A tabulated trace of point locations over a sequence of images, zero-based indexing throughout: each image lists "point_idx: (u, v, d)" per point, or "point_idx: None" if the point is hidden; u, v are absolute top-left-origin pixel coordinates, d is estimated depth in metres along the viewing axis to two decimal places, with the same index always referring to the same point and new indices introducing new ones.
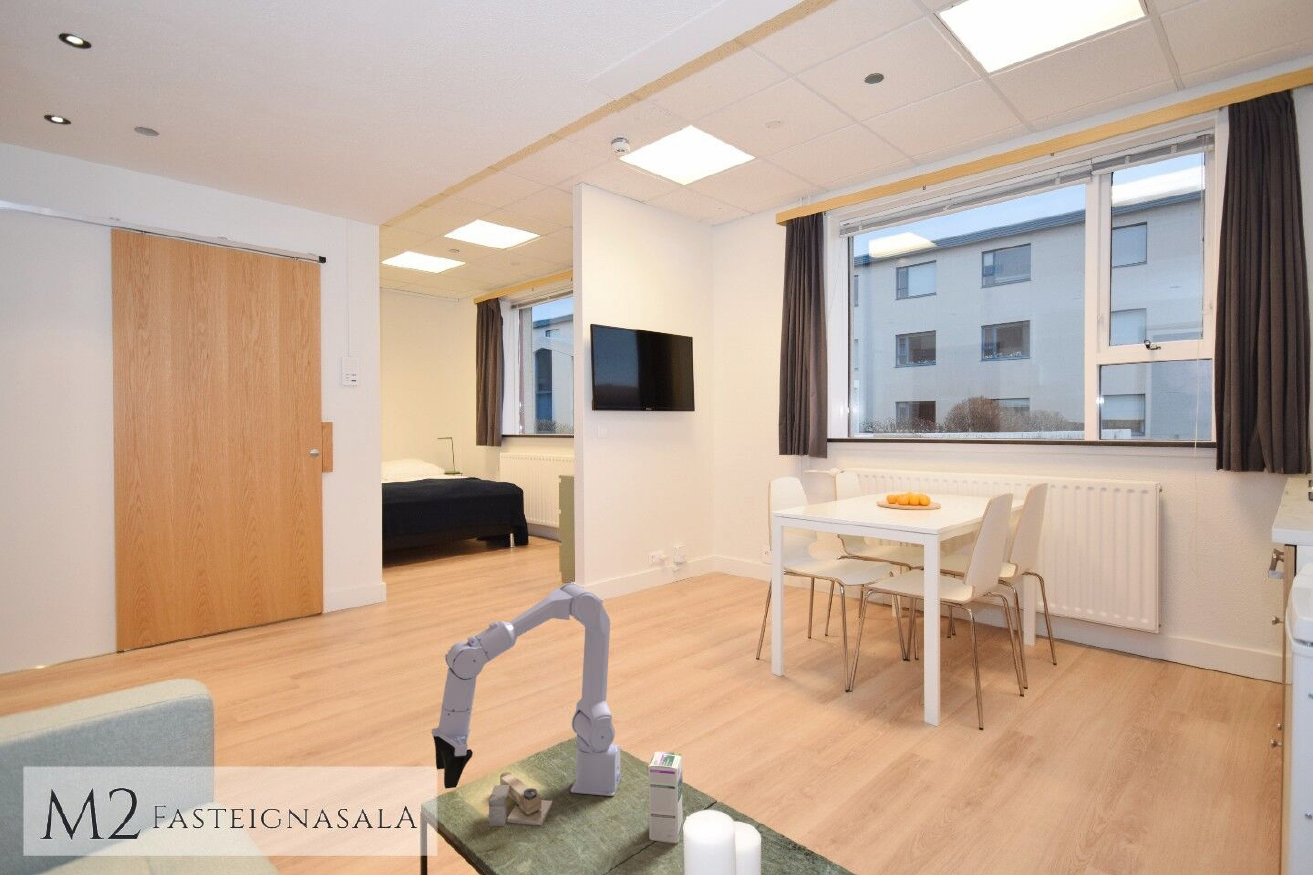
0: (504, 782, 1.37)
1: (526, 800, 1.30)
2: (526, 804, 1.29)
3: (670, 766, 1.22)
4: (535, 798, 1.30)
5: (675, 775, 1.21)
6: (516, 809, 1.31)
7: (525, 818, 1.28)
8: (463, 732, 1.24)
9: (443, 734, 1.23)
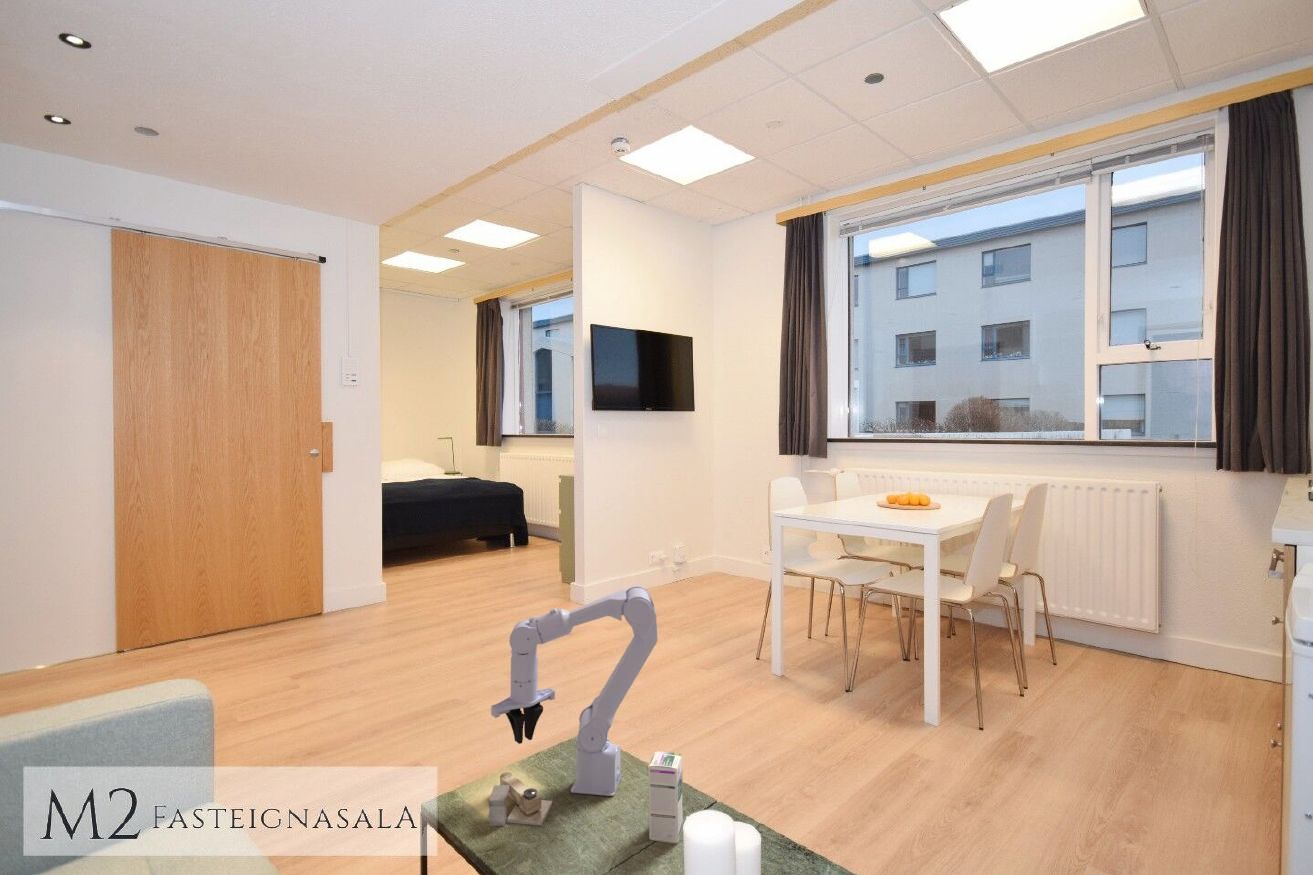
0: (504, 782, 1.37)
1: (526, 800, 1.30)
2: (526, 804, 1.29)
3: (670, 766, 1.22)
4: (535, 798, 1.30)
5: (675, 775, 1.21)
6: (516, 809, 1.31)
7: (525, 818, 1.28)
8: (516, 701, 1.37)
9: None
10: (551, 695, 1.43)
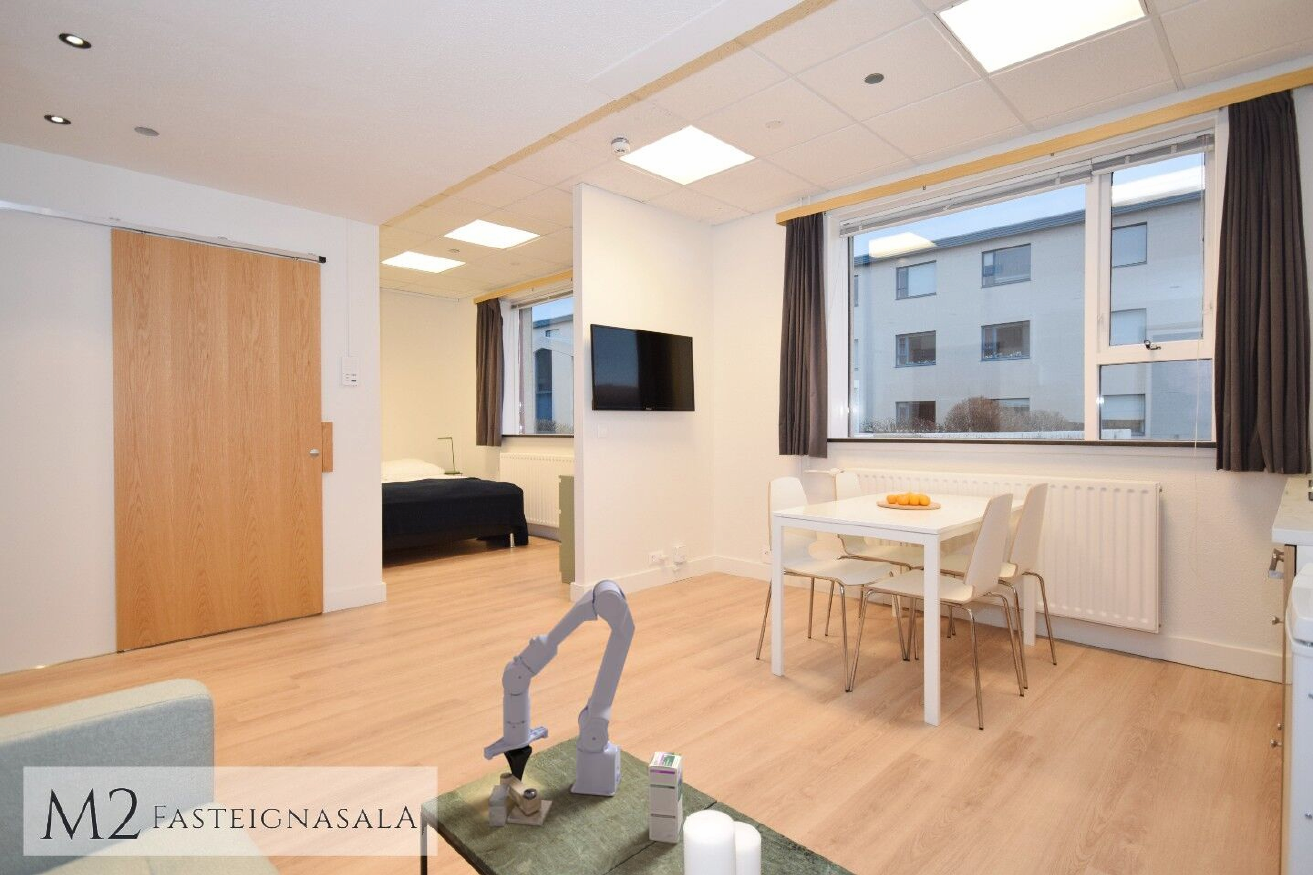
0: (504, 782, 1.37)
1: (526, 800, 1.30)
2: (526, 804, 1.29)
3: (670, 766, 1.22)
4: (535, 798, 1.30)
5: (675, 775, 1.21)
6: (516, 809, 1.31)
7: (525, 818, 1.28)
8: (509, 742, 1.36)
9: (503, 737, 1.39)
10: (544, 733, 1.43)
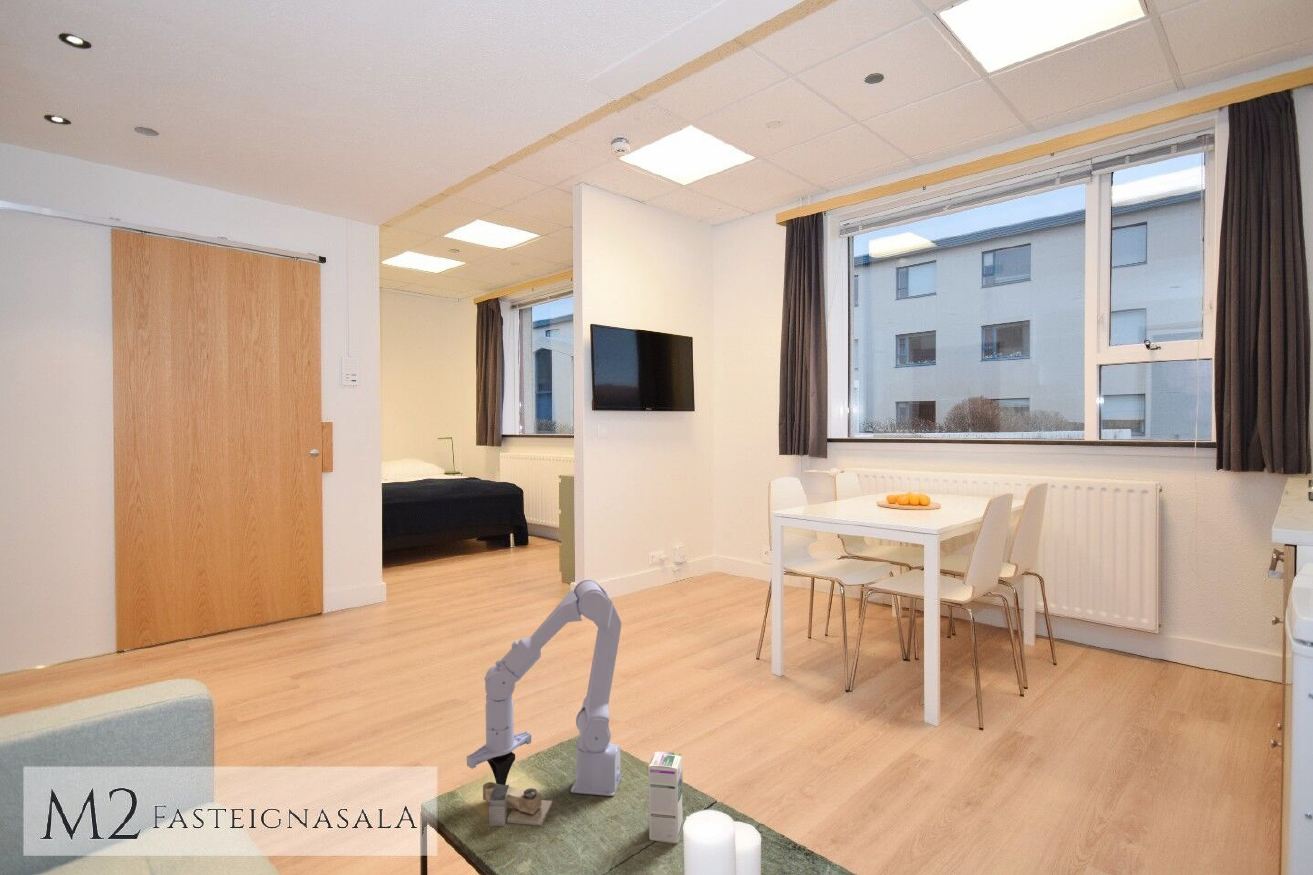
0: (491, 792, 1.33)
1: (530, 800, 1.29)
2: (531, 804, 1.29)
3: (670, 766, 1.22)
4: (537, 796, 1.31)
5: (675, 775, 1.21)
6: (516, 809, 1.31)
7: (525, 818, 1.28)
8: (492, 749, 1.34)
9: (485, 744, 1.36)
10: (527, 739, 1.40)
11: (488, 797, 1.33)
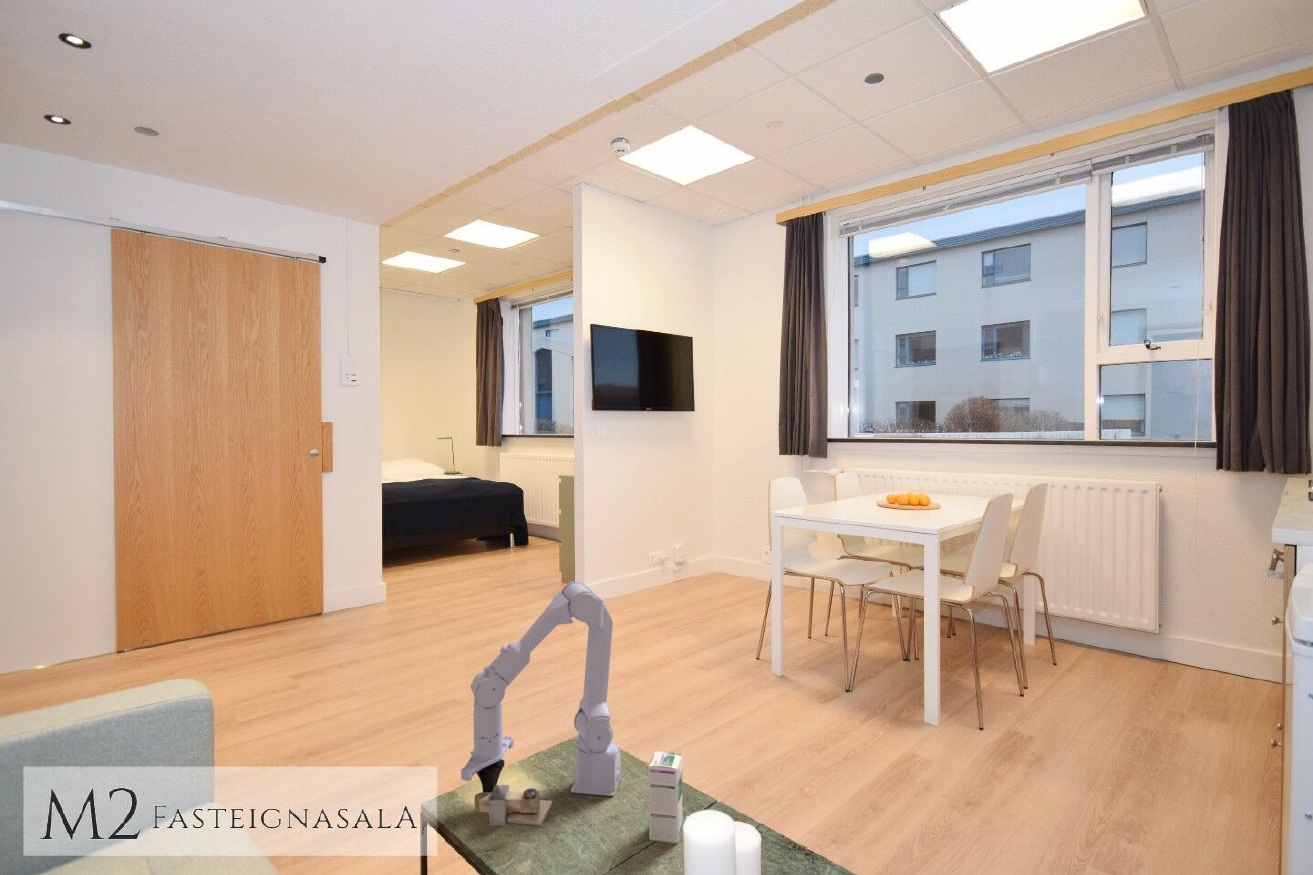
0: (486, 801, 1.30)
1: (533, 799, 1.30)
2: (535, 803, 1.30)
3: (670, 766, 1.22)
4: (537, 795, 1.31)
5: (675, 775, 1.21)
6: None
7: (525, 818, 1.28)
8: (485, 758, 1.30)
9: (472, 755, 1.32)
10: (511, 743, 1.38)
11: (482, 807, 1.30)
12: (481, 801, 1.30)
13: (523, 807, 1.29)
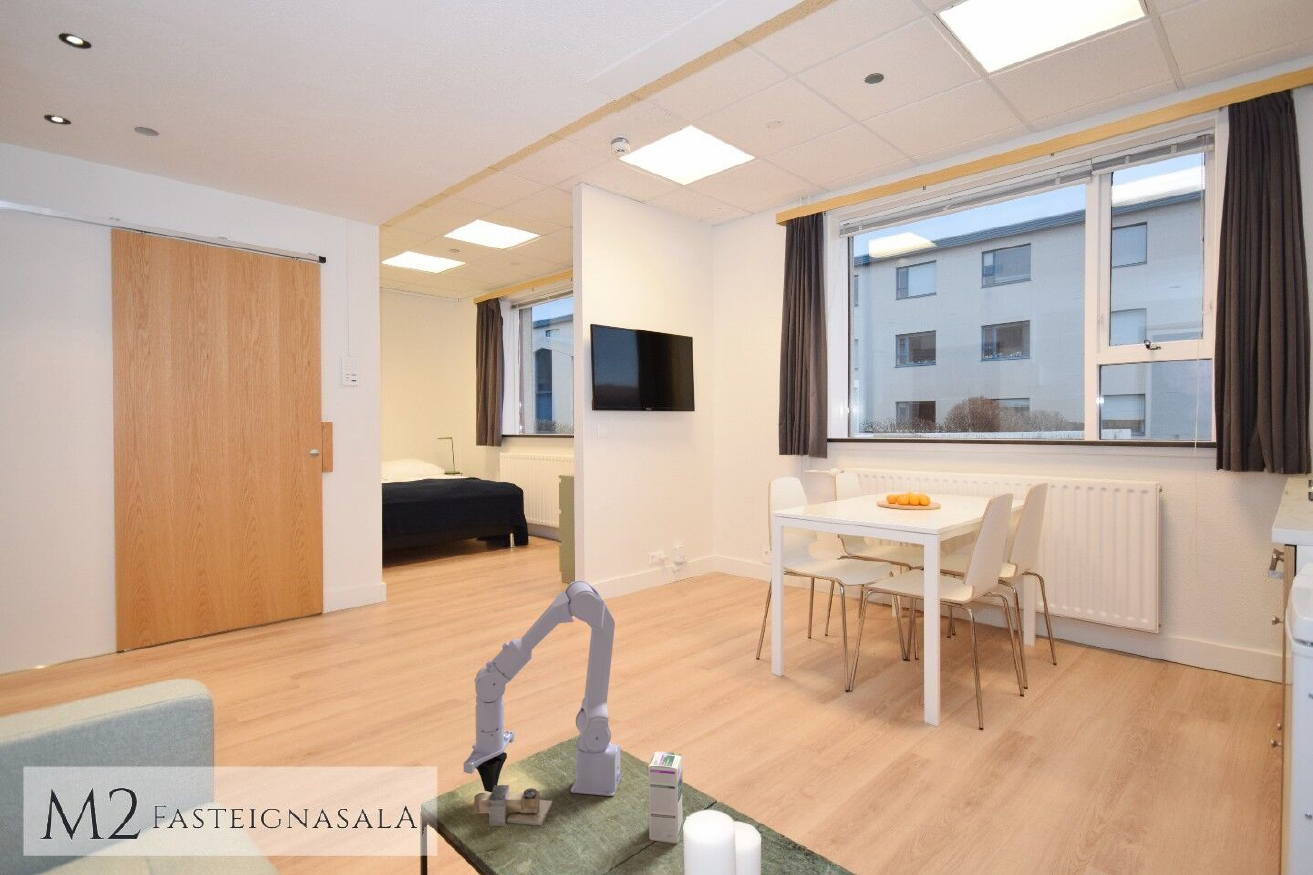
0: (486, 801, 1.30)
1: (533, 799, 1.30)
2: (535, 803, 1.30)
3: (670, 766, 1.22)
4: (537, 795, 1.31)
5: (675, 775, 1.21)
6: None
7: (525, 818, 1.28)
8: (487, 751, 1.32)
9: (474, 748, 1.34)
10: (511, 737, 1.41)
11: (482, 808, 1.30)
12: (481, 801, 1.30)
13: (523, 807, 1.29)
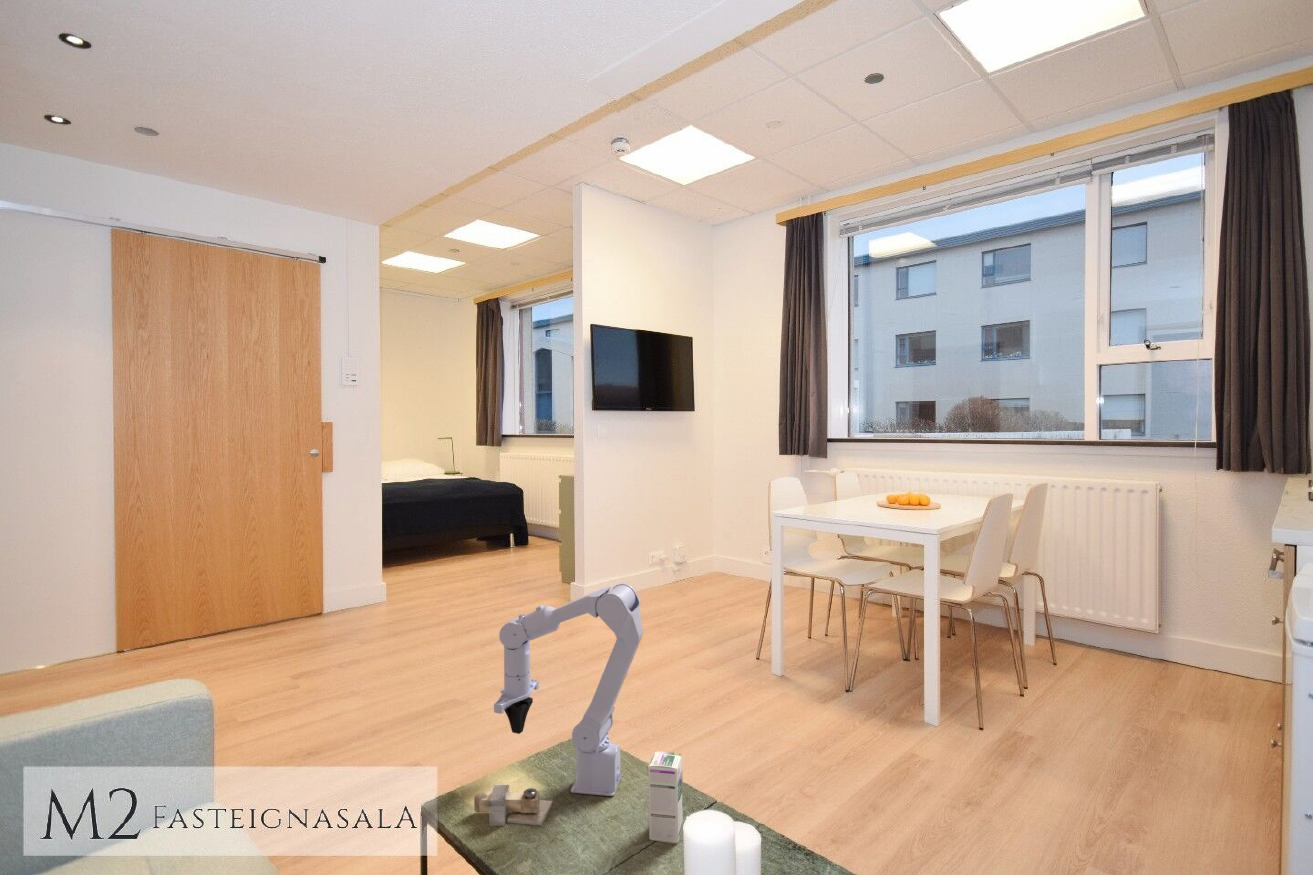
0: (486, 801, 1.30)
1: (533, 799, 1.30)
2: (535, 803, 1.30)
3: (670, 766, 1.22)
4: (537, 795, 1.31)
5: (675, 775, 1.21)
6: None
7: (525, 818, 1.28)
8: (515, 695, 1.43)
9: (503, 693, 1.45)
10: (536, 685, 1.51)
11: (482, 808, 1.30)
12: (481, 801, 1.30)
13: (523, 807, 1.29)
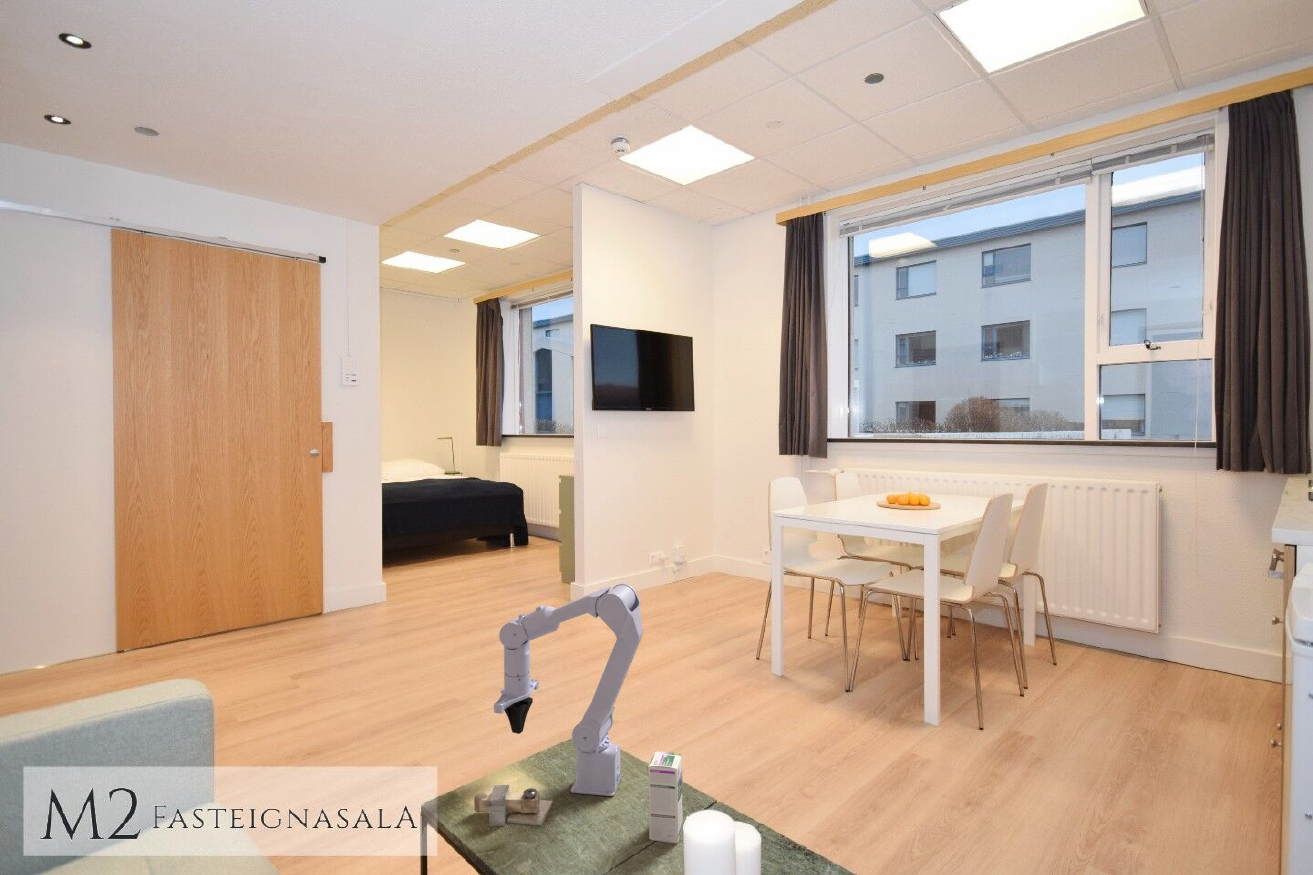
0: (486, 801, 1.30)
1: (533, 799, 1.30)
2: (535, 803, 1.30)
3: (670, 766, 1.22)
4: (537, 795, 1.31)
5: (675, 775, 1.21)
6: None
7: (525, 818, 1.28)
8: (515, 695, 1.43)
9: (503, 693, 1.45)
10: (536, 685, 1.51)
11: (482, 808, 1.30)
12: (481, 801, 1.30)
13: (523, 807, 1.29)
